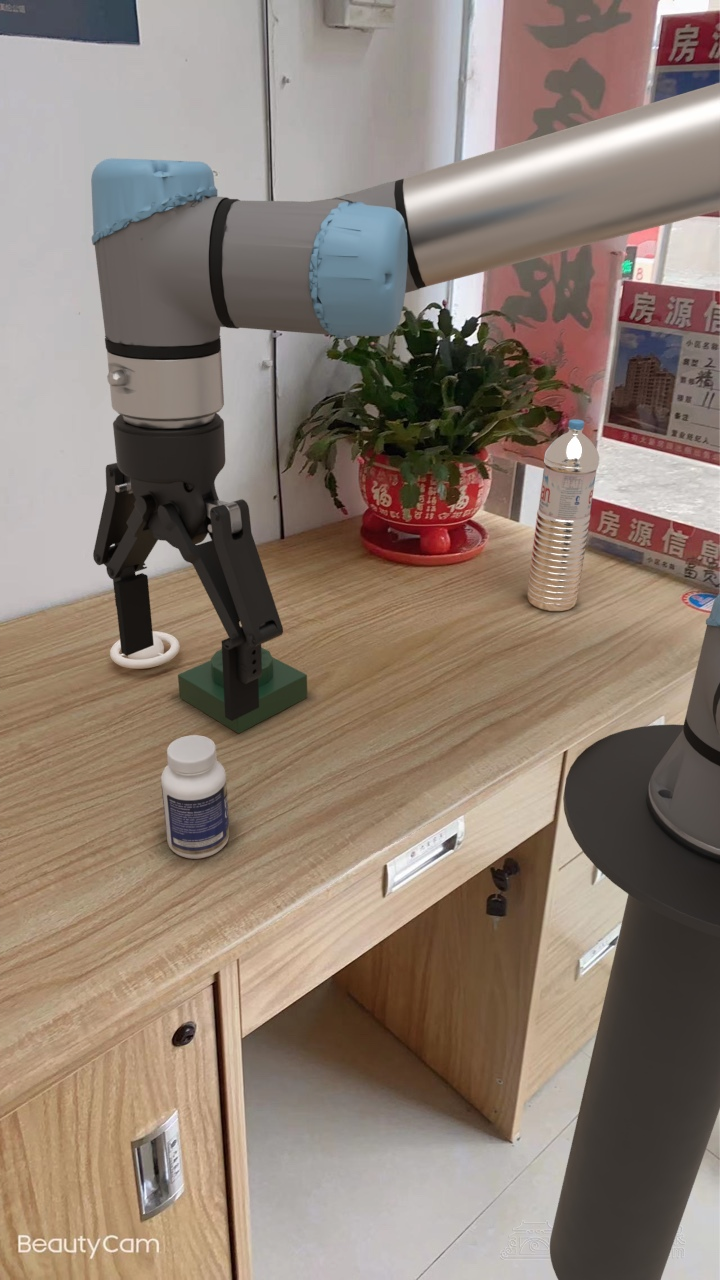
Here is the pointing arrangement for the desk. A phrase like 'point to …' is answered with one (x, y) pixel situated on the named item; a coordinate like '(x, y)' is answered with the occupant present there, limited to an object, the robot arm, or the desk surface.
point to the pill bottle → (195, 798)
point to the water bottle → (562, 520)
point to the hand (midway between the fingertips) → (187, 679)
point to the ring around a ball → (147, 653)
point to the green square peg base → (275, 690)
